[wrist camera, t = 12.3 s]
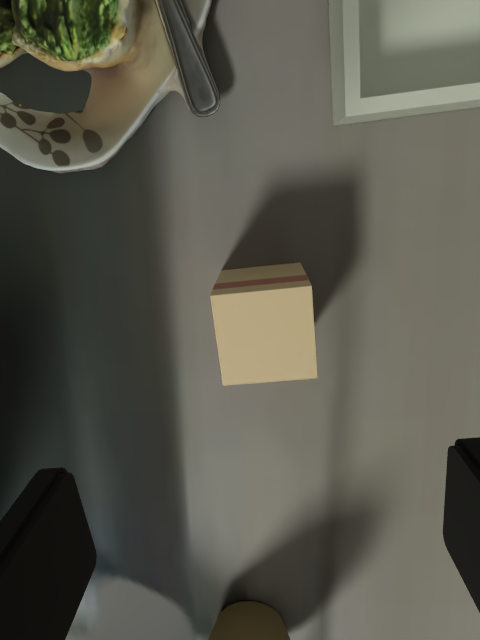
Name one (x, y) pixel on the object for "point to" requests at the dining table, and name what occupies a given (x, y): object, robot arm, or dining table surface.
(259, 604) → the squeeze bottle
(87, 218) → the dining table surface
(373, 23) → the tote
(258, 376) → the cardboard box
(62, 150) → the salad plate
